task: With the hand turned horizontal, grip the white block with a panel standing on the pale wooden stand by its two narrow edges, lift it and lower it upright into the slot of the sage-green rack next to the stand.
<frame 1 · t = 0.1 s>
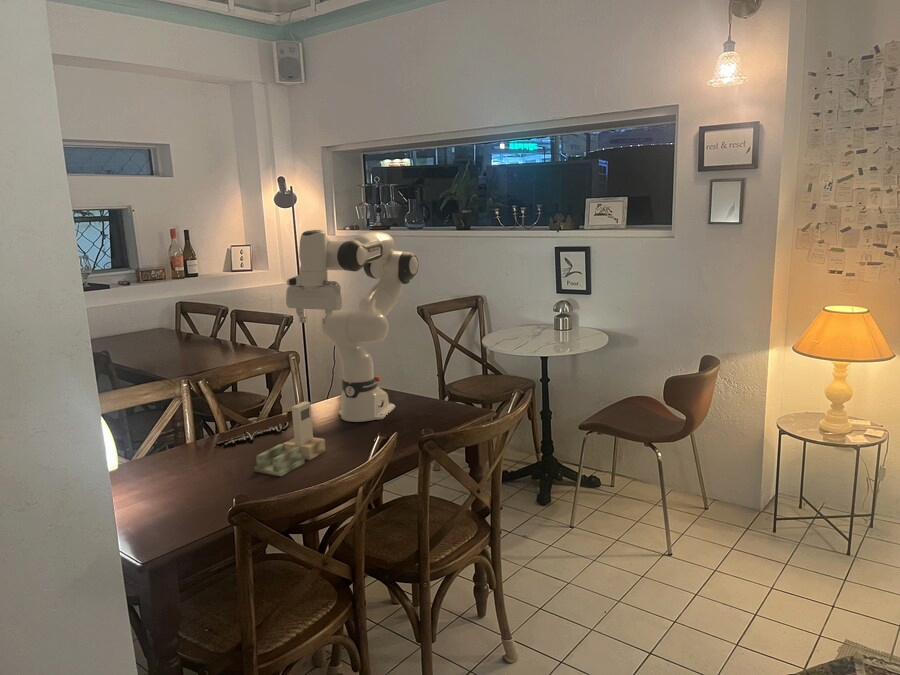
hand: (314, 323, 221), 39 cm above the table, tool pointing down, fingers open, 8 cm apart
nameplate: (256, 438, 231), on the table
white block with panel: (304, 441, 213), point 4 cm above the table, touching stand
rack: (280, 467, 203), on the table
stand: (305, 453, 214), on the table
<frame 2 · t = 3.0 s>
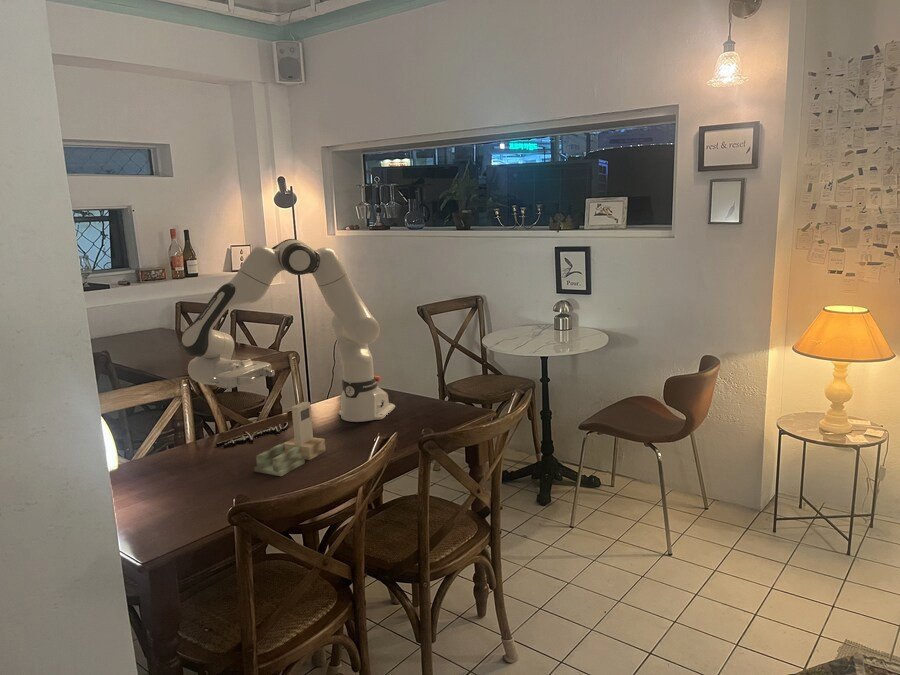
hand: (263, 377, 215), 24 cm above the table, tool horizontal, fingers open, 8 cm apart
nothing on the table moved.
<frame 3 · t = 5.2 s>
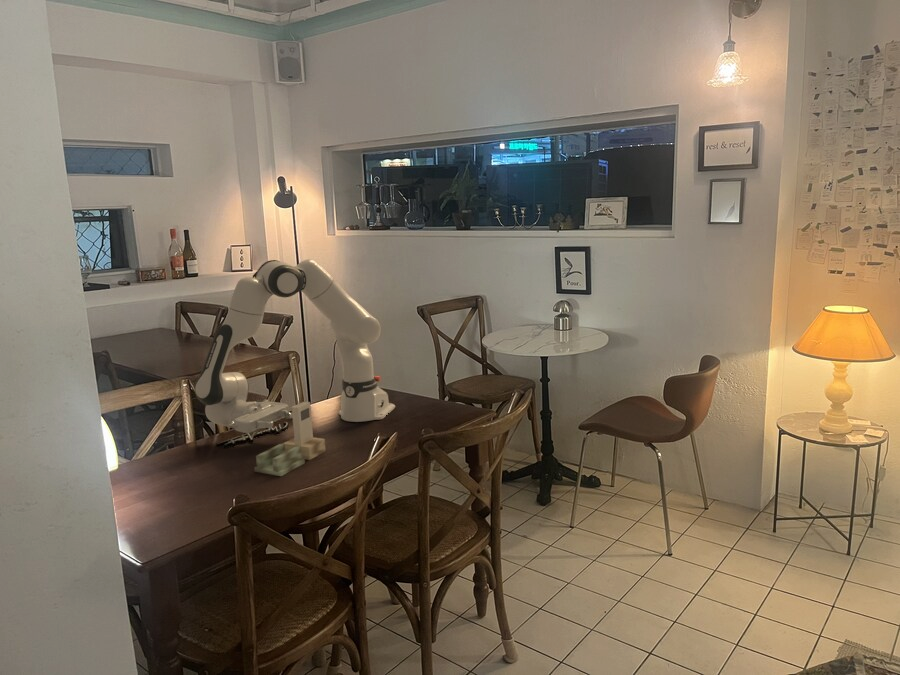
hand: (281, 420, 216), 10 cm above the table, tool horizontal, fingers open, 8 cm apart
nothing on the table moved.
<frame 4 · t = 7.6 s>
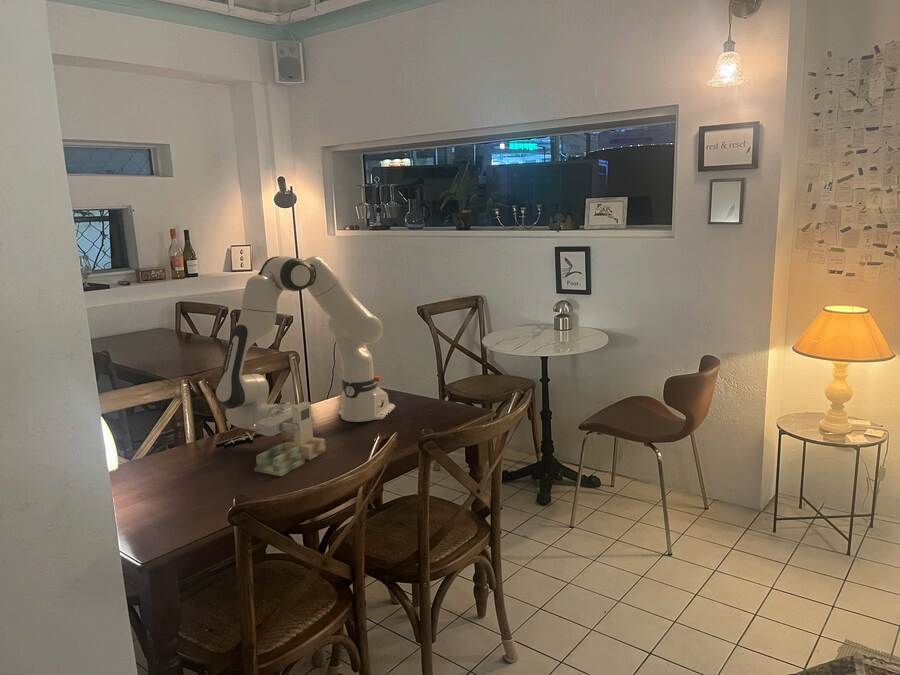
hand: (304, 423, 212), 10 cm above the table, tool horizontal, fingers closed on white block with panel, 6 cm apart
white block with panel: (304, 441, 213), point 4 cm above the table, touching gripper, stand
everything else where it was.
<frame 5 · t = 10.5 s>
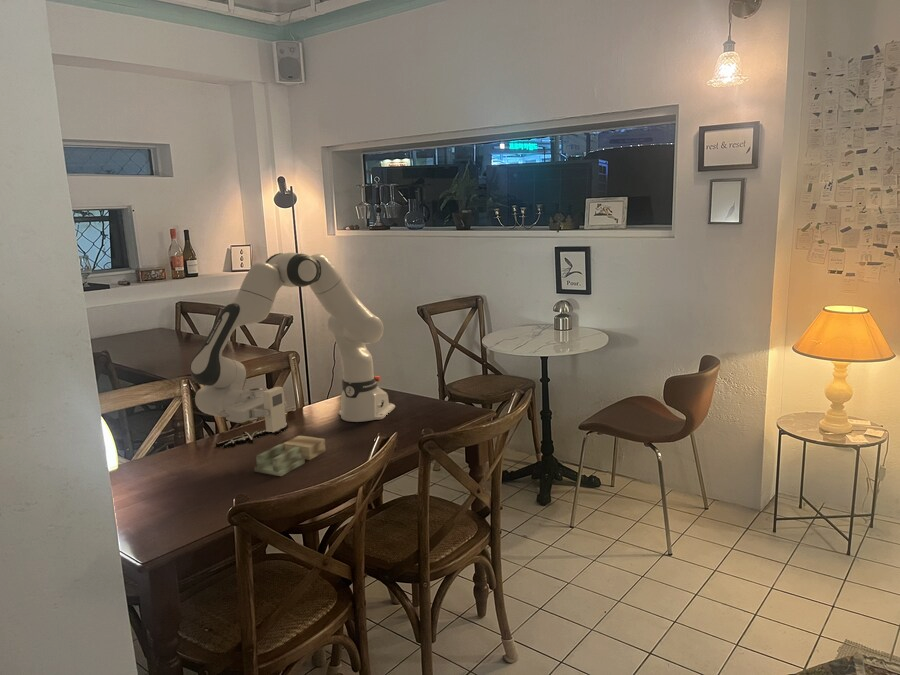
hand: (277, 409, 199), 18 cm above the table, tool horizontal, fingers closed on white block with panel, 6 cm apart
white block with panel: (276, 428, 201), point 12 cm above the table, touching gripper
everything else where it was.
when the fingers open (9 cm above the table, at t = 13.6 s): white block with panel drops 1 cm, resting on rack.
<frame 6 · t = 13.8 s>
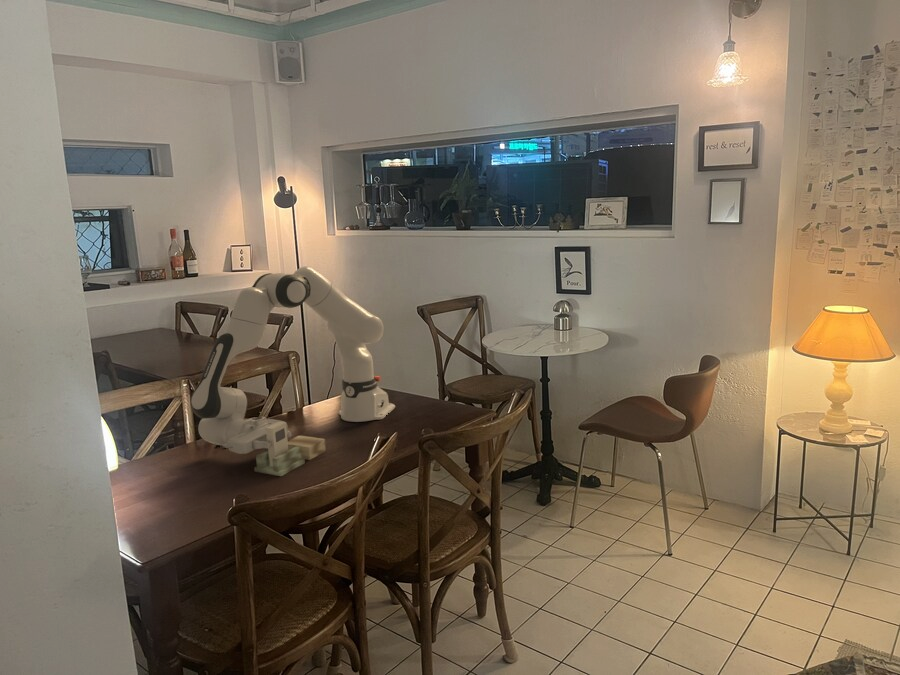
hand: (279, 439, 201), 9 cm above the table, tool horizontal, fingers open, 8 cm apart
white block with panel: (279, 463, 203), point 1 cm above the table, touching rack
everything else where it was.
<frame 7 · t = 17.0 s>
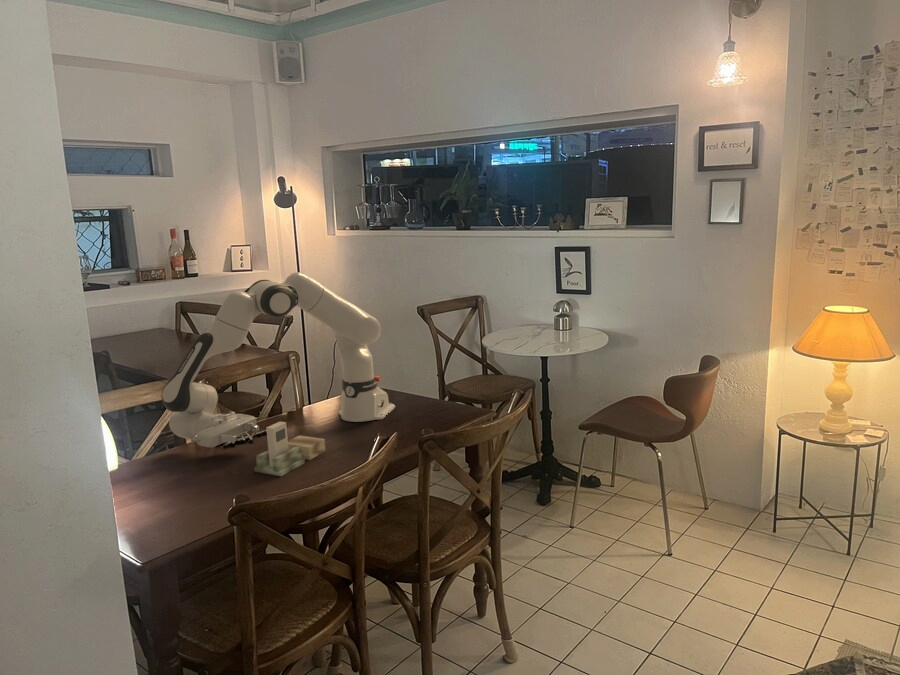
hand: (246, 433, 207), 9 cm above the table, tool horizontal, fingers open, 8 cm apart
nothing on the table moved.
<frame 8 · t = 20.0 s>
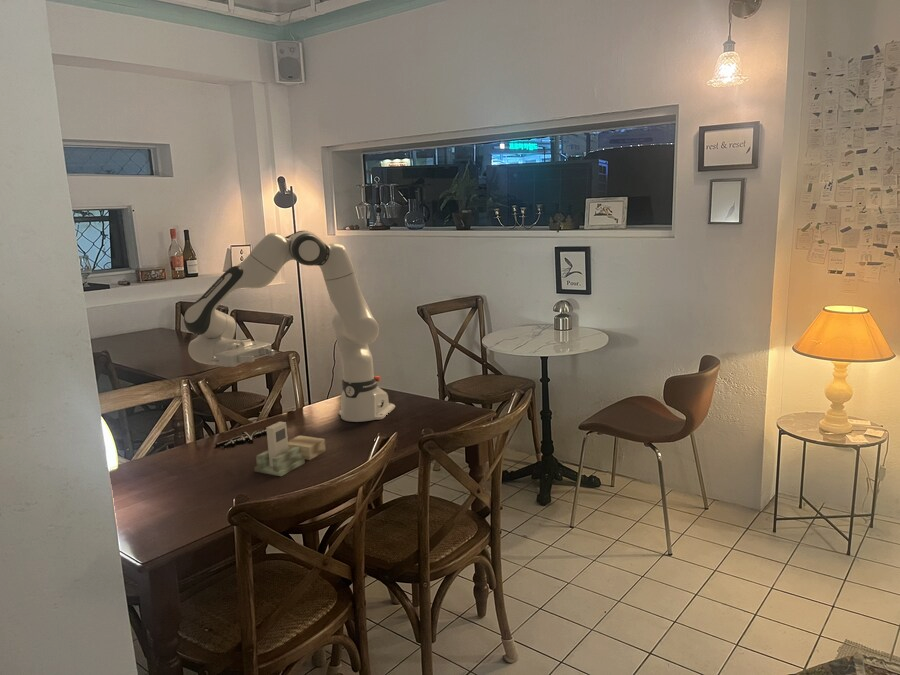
hand: (263, 356, 216), 30 cm above the table, tool horizontal, fingers open, 8 cm apart
nothing on the table moved.
at the end: white block with panel 0.0 cm off-centre on the rack, point 1.2 cm above the rack's base; white block with panel tilted 0°; the gripper is holding nothing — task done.
